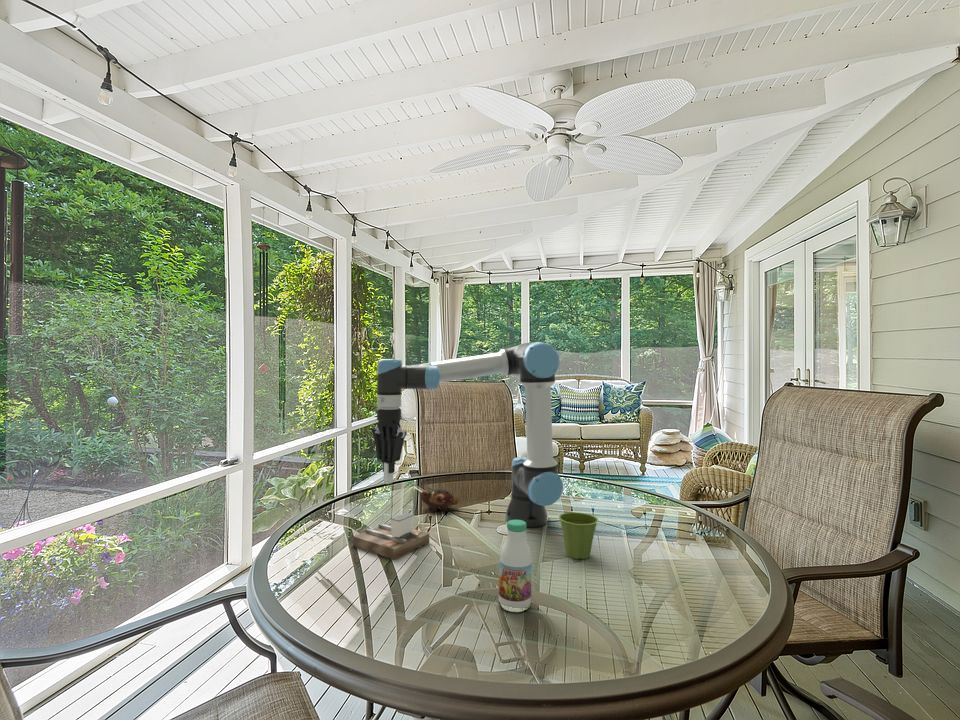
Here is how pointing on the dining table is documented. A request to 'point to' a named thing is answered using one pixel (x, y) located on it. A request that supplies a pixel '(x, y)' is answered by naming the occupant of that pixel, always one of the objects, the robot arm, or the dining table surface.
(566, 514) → the plant pot
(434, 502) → the decorative turtle
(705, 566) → the dining table surface
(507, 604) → the milk bottle
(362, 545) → the fader console
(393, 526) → the fader knob
